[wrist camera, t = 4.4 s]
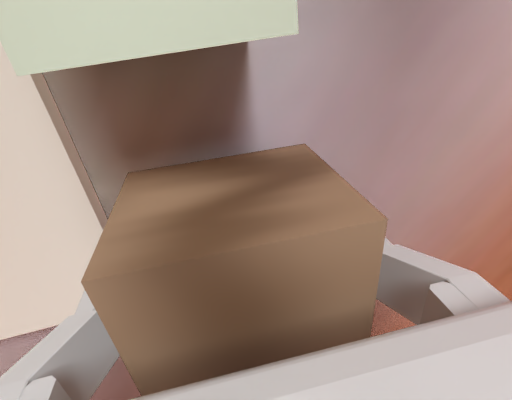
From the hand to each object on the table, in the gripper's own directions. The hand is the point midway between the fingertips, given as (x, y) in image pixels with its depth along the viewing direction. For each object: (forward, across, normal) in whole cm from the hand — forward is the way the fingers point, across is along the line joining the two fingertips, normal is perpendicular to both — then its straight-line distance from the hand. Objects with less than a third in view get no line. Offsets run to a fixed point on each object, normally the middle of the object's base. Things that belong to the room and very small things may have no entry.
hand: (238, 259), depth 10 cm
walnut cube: (+2, 0, 0) cm, 2 cm away
